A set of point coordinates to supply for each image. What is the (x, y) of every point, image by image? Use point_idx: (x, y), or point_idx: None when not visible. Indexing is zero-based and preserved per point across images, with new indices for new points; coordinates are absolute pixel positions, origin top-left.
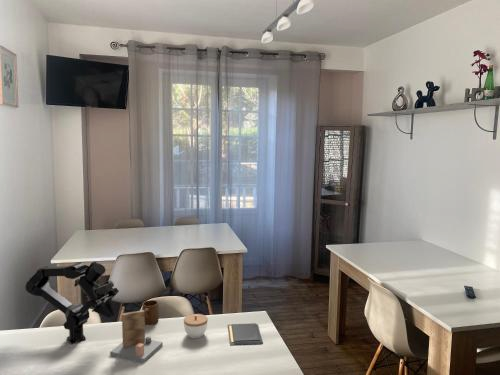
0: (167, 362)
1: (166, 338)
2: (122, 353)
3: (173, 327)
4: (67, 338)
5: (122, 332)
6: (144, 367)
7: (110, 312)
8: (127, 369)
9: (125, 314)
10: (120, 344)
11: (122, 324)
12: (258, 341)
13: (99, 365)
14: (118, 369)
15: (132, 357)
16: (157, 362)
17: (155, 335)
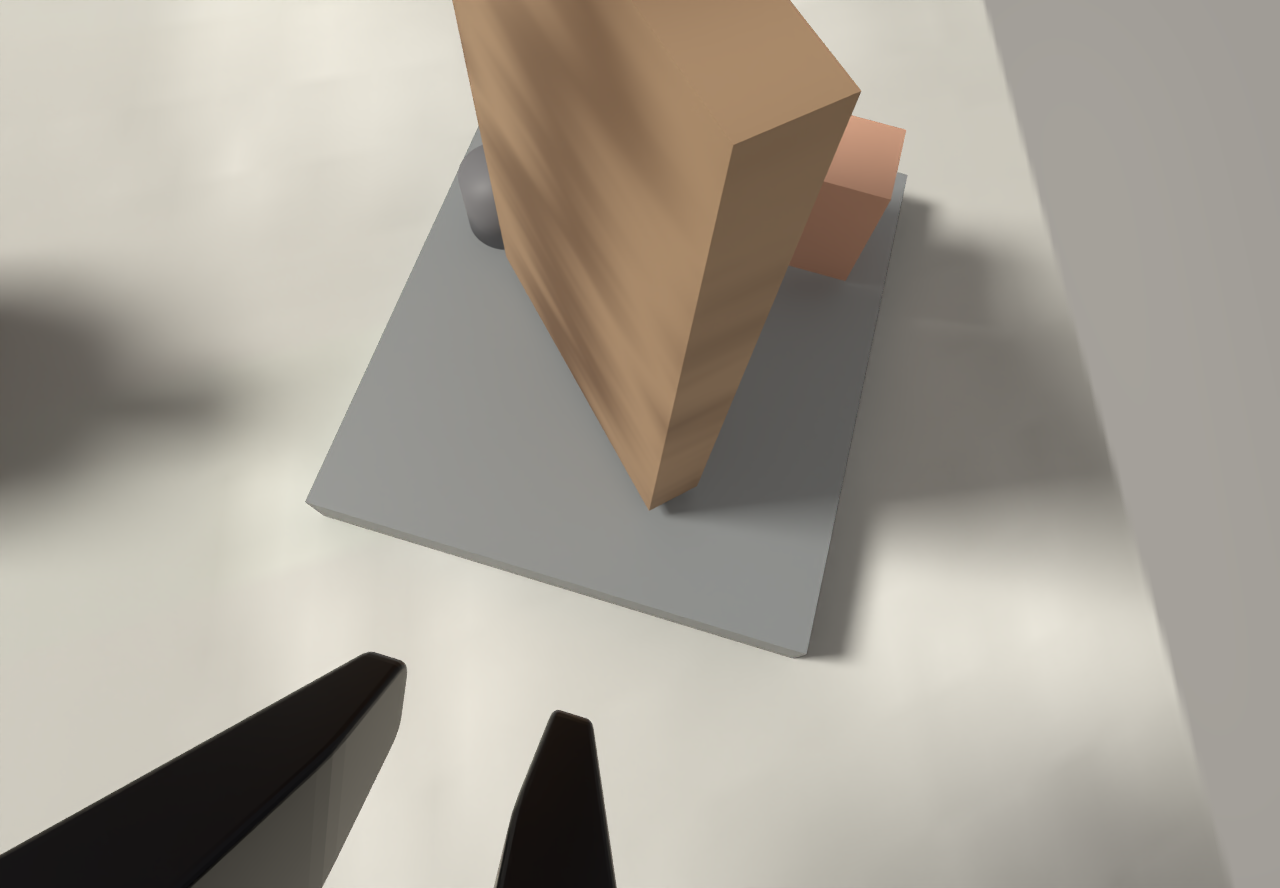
0: (847, 4)
1: (334, 93)
2: (830, 455)
3: (32, 68)
4: None
5: (674, 431)
6: (977, 176)
7: (297, 872)
8: (1055, 329)
9: (787, 13)
10: (581, 574)
11: (728, 329)
12: None
13: (1063, 706)
14: (1082, 426)
15: (876, 315)
16: (863, 83)
17: (238, 225)
